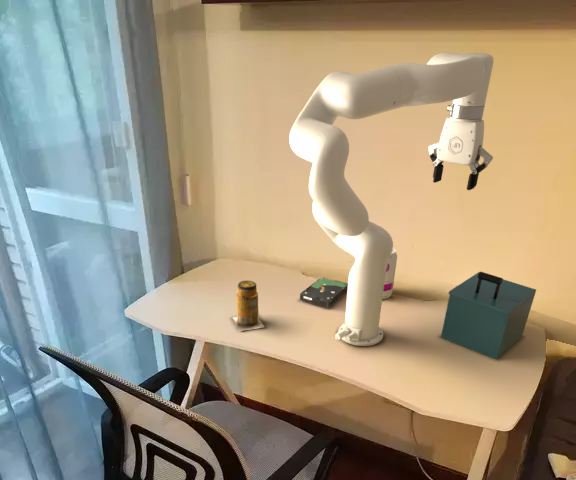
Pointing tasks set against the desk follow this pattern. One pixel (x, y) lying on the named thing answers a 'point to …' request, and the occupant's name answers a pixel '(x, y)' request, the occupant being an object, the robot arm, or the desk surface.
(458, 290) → the lid
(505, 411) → the desk surface
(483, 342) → the teal box
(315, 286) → the disk drive
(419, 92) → the robot arm
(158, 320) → the desk surface
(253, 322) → the condiment
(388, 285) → the supplement can
